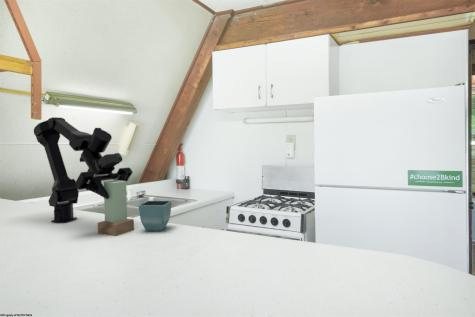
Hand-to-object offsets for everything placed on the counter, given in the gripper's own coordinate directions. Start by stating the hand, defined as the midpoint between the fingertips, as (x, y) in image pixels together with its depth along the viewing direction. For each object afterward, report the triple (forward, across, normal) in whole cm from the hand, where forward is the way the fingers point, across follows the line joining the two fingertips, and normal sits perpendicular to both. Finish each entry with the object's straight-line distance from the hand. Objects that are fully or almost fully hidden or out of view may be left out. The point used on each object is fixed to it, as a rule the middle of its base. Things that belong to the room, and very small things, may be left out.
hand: (117, 196), depth 114 cm
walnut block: (+8, 0, +10) cm, 12 cm away
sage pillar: (+5, 0, +7) cm, 8 cm away
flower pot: (+14, +9, +3) cm, 17 cm away
